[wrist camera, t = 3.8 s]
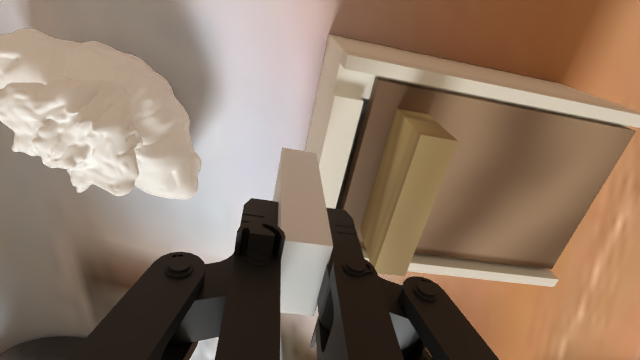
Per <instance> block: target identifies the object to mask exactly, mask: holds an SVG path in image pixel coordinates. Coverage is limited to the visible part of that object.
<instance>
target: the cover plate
mask: <svg viewBox="0 0 640 360" xmlns="http://www.w3.org/2000/svg"><path fill="white" fill-rule="evenodd" d="M635 132H636V131H634V130H632V129H629V128H627V127H625V126H621V125H616V124H611V123H606V122H601V121H596V120H591V119H585V118H580V117H575V116H570V115H565V114H560V113H555V112H550V111H545V110H540V109H535V108H530V107H525V106H520V105H515V104H510V103H505V102H500V101H495V100H490V99H485V98H480V97H475V96H470V95H465V94H460V93H455V92H450V91H445V90H440V89H435V88H430V87H425V86H420V85H414V84H409V83H404V82H399V81H394V80H389V79H384V78H379V77H375V80H374V83H373V87H372V91H371V95H370V98H369V102H368V106H367V109H366V113H365V117H364V121H363V124H362V128H361V132H360V135H359V139H358V143H357V147H356V150H355V154H354V158H353V161H352V165H351V169H350V173H349V176H348V180H347V184H346V187H345V191H344V195H343V199H342V202H341V206H340V209H341V210H346V211H347V213H348V214H349V215H350V216H351V217H352V218H353V221H354V224H355V229H356V231H357V236H358V238H359V242H360V245H361V247H365V248H366V251H367V255H368V258H369V261H370V263H371V264H372V265H373V266H374V268H375V270H376V271H377V273H381V274H390V275H399V276H405V275H406V272H407V270H408V267H409V265H410V262H411V260H412V257H413V255H414V253H421V254H429V255H438V256H446V257H455V258H463V259H472V260H480V261H489V262H497V263H506V264H514V265H523V266H531V267H540V268H548V269H552V268H553V266H554V265H555V263H556V261H557V260H558V258H559V256H560V255H561V253H562V252H563V250H564V248H565V247H566V245H567V243H568V242H569V240H570V238H571V237H572V235H573V234H574V232H575V230H576V229H577V227H578V225H579V224H580V222H581V220H582V219H583V217H584V216H585V214H586V212H587V211H588V209H589V207H590V206H591V204H592V202H593V201H594V199H595V197H596V196H597V194H598V193H599V191H600V189H601V188H602V186H603V184H604V183H605V181H606V179H607V178H608V176H609V175H610V173H611V171H612V170H613V168H614V166H615V165H616V163H617V161H618V160H619V158H620V157H621V155H622V153H623V152H624V150H625V148H626V147H627V145H628V143H629V142H630V140H631V138H632V137H633V135H634V134H635Z"/></svg>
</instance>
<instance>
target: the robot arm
mask: <svg viewBox="0 0 640 360" xmlns="http://www.w3.org/2000/svg"><path fill="white" fill-rule="evenodd" d="M317 304H318V314H319V316H318V319H317V323H316V326H315V330H314V333H313V337H312V340H311V346H310V347H314V345H315V342H316V344H317V356H318V360H499V359H498V358H497V356H496V355H495V354H494V353H493V351H492V350H491V349H490V348H489V346H488V345H487V344H486V343H485V341H484V340H483V339H482V338H481V336H480V335H479V334H478V333H477V331H476V330H475V329H474V328H473V326H472V325H471V324H470V323H469V321H468V320H467V319H466V318H465V316H464V315H463V314H462V313H461V311H460V310H459V309H458V307H457V306H456V305H455V304H454V302H453V301H452V300H451V299H450V297H449V296H448V295H447V294H446V292H445V291H444V290H443V289H442V288H441V287H440V286H439V285H438V284H436V283H434V282H433V281H431V280H429V279H426V278H423V277H415V276H413V277H409V278H407V279H406V280H405V281H404V282H403V285H399V284H396V283H393V282H390V281H387V280H385V279H383V278H381V277H379V276H378V275H377V271H376V270H375V268H374V266H373V265H372V264H371V263H370V262H369V261H368V260H366V259H364V256H363V253H362V249H361V245H360V242H359V238H358V236H357V231H356V229H355V224H354V221H353V218H352V217H351V216H350V215H349V214H348V213H347V211H346V210H341V209H334V208H326V204H325V198H324V193H323V187H322V181H321V176H320V170H319V165H318V159H317V154H316V153H312V152H306V151H300V150H293V149H287V148H282V152H281V158H280V164H279V169H278V175H277V181H276V186H275V192H274V198H273V201H268V200H260V199H253V198H251V199H250V200H249V201H248V202H247V203H246V204H245V205H244V209H243V214H242V219H241V225H240V227H239V229H238V231H237V236H236V244H235V252H234V253H233V254H232V256H230V257H229V258H227V259H226V260H223V261H221V262H216V263H211V264H204V262H203V261H202V260H201V259H200V258H199V257H198V256H196V255H194V254H191V253H186V252H175V253H169V254H167V255H164V256H161V257H160V258H159V259H157V260H156V261H155V262H154V263H153V264H152V265H151V266H150V267H149V268H148V270H147V271H146V272H145V273H144V274H143V275H142V276H141V277H140V279H139V280H138V281H137V282H136V283H135V284H134V285H133V286H132V287H131V289H130V290H129V291H128V292H127V293H126V294H125V295H124V296H123V298H122V299H121V300H120V301H119V302H118V303H117V304H116V305H115V307H114V308H113V309H112V310H111V311H110V312H109V313H108V314H107V316H106V317H105V318H104V319H103V320H102V321H101V322H100V323H99V325H98V326H97V327H96V328H95V329H94V330H93V331H92V332H91V333H90V335H89V336H88V337H87V338H86V339H79V338H47V339H39V340H34V341H30V342H26V343H23V344H20V345H18V346H15V347H13V348H11V349H9V350H7V351H6V352H4V353H3V354H1V355H0V360H189V359H190V357H191V356H192V354H193V352H194V350H195V348H196V346H197V344H198V341H200V340H205V339H210V338H215V337H219V340H218V345H217V351H216V356H215V360H280V313H289V314H301V315H312V316H314V314H315V311H316V307H317ZM426 348H427V349H428V351H429V353H430V354H431V356H432V357H433V358H432V357H431V356H430V355H429V354H428V352H427V351H426Z"/></svg>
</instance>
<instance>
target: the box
mask: <svg viewBox="0 0 640 360" xmlns="http://www.w3.org/2000/svg"><path fill="white" fill-rule="evenodd" d="M375 77H379V78H384V79H389V80H394V81H399V82H404V83H409V84H414V85H420V86H425V87H430V88H435V89H440V90H445V91H450V92H455V93H460V94H465V95H470V96H475V97H480V98H485V99H490V100H495V101H500V102H505V103H510V104H515V105H520V106H525V107H530V108H535V109H540V110H545V111H550V112H555V113H560V114H565V115H570V116H575V117H580V118H585V119H591V120H596V121H601V122H606V123H611V124H616V125H621V126H625V127H627V125H628V126H633V127H638V128H640V112H639V111H636V110H633V109H630V108H627V107H625V106H622V105H619V104H616V103H614V102H611V101H608V100H605V99H602V98H600V97H597V96H594V95H591V94H589V93H586V92H583V91H580V90H577V89H575V88H572V87H569V86H566V85H563V84H560V83H555V82H551V81H546V80H541V79H537V78H532V77H527V76H523V75H518V74H513V73H509V72H504V71H499V70H495V69H490V68H485V67H481V66H476V65H471V64H467V63H462V62H457V61H453V60H448V59H443V58H439V57H434V56H429V55H425V54H420V53H415V52H411V51H406V50H401V49H397V48H392V47H387V46H383V45H378V44H373V43H369V42H364V41H359V40H355V39H350V38H345V37H341V36H336V35H331V34H329V35H328V40H327V45H326V50H325V55H324V59H323V64H322V69H321V74H320V79H319V84H318V89H317V94H316V98H315V103H314V108H313V113H312V118H311V123H310V128H309V133H308V138H307V142H306V147H305V151H306V152H312V153H316V154H317V159H318V165H319V170H320V176H321V181H322V187H323V193H324V198H325V204H326V208H334V209H340V206H341V202H342V199H343V195H344V191H345V187H346V184H347V180H348V176H349V173H350V169H351V165H352V161H353V158H354V154H355V150H356V147H357V143H358V139H359V135H360V132H361V128H362V124H363V121H364V117H365V113H366V109H367V106H368V102H369V98H370V95H371V91H372V87H373V83H374V80H375ZM361 249H362V253H363V256H364V259H366V260H368V261H369V258H368V255H367V251H366V248H365V247H361ZM369 262H370V261H369ZM407 271H411V272H421V273H430V274H439V275H448V276H458V277H467V278H476V279H485V280H495V281H504V282H513V283H522V284H532V285H541V286H550V287H554V286H555V284H556V283H557V281H558V280H559V279H558V278H557V277H556V276H555V275H554V274H553V273H552V272H551V271H550V270H549V269H548V268H540V267H531V266H523V265H514V264H506V263H497V262H489V261H480V260H472V259H463V258H455V257H446V256H438V255H429V254H421V253H414V255H413V257H412V260H411V262H410V265H409V267H408V270H407Z"/></svg>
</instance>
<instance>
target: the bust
mask: <svg viewBox="0 0 640 360" xmlns="http://www.w3.org/2000/svg"><path fill="white" fill-rule="evenodd" d="M0 121H1V122H2V123H4V124H5V125H6V126H8V127H9V128H10V129H12V130H13V131H14V132H15V135H14V143H13V145H12V150H13V151H14V152H24V153H26V154H28V155H30V156H36V155H38V156H41V158H42V162H43V164H45V165H47V166H48V167H50V168H57V167H58V168H63V169H67V172H68V173H69V175H70V176H71V178H70V181H71V182H72V185H73V186H76V191H77V192H78V193H81V192H83V191H85V190H87V189H88V188H89V186H90V185H92V184H95V185H97V186H98V187H100V188H102V189H104V190H106V191H108V192H109V193H111V194H113V195H115V196H123V195H126V194H128V193H130V192H131V191H132V189H133V188H134V185H135V186H136V187H138V188H139V189H141V190H142V191H144V192H146V193H148V194H151V195H155V196H159V197H165V198H172V199H183V200H185V199H189V198H191V197H193V196H194V195H195V194H196V192H197V188H198V173H199V171H200V169H201V161H200V158H199V156H198V155H197V153H196V152H195V150H194V148H193V145H192V143H191V142H192V141H191V136H190V133H189V126H190V118H189V116H188V114H187V112H186V110H185V109H184V107H183V106H182V105H181V103H180V102H179V101H178V100H177V99H176V98H175V96H174V93H173V90H172V88H171V86H170V85H169V83H168V81H167V80H166V79H165V78H163V77H162V76H161V75H160V74H158V73H156V72H155V71H153V69H152V68H151V67H150V66H149V65H148V64H146V62H145V61H143V60H142V59H141V58H139V57H136V56H134V55H132V54H128V53H123V52H121V51H118V50H116V49H114V48H112V47H111V46H108V45H106V44H103V43H100V42H97V41H88V42H84V43H79V42H75V41H68V40H61V39H56V38H53V37H51V36H48V35H46V34H44V33H42V32H40V31H38V30H35V29H30V28H23V29H19V30H17V31H15V32H13V33H10V34H0Z"/></svg>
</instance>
